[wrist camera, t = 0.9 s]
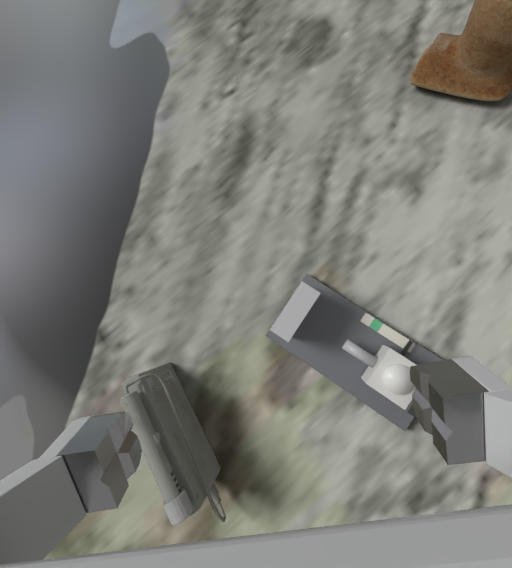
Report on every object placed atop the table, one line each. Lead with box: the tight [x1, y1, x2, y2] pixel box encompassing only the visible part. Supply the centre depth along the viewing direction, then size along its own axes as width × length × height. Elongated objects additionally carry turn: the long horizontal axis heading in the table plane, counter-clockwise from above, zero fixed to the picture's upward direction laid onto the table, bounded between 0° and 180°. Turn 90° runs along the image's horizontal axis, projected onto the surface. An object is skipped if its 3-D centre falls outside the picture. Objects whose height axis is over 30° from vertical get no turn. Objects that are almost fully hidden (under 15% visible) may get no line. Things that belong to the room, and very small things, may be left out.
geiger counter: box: [120, 363, 226, 525], centre depth 47 cm, size 14×6×25 cm
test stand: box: [266, 274, 443, 431], centre depth 46 cm, size 25×12×10 cm, turn 56°
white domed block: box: [342, 339, 418, 419], centre depth 45 cm, size 13×9×5 cm
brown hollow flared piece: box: [409, 0, 512, 102], centre depth 44 cm, size 15×12×15 cm
